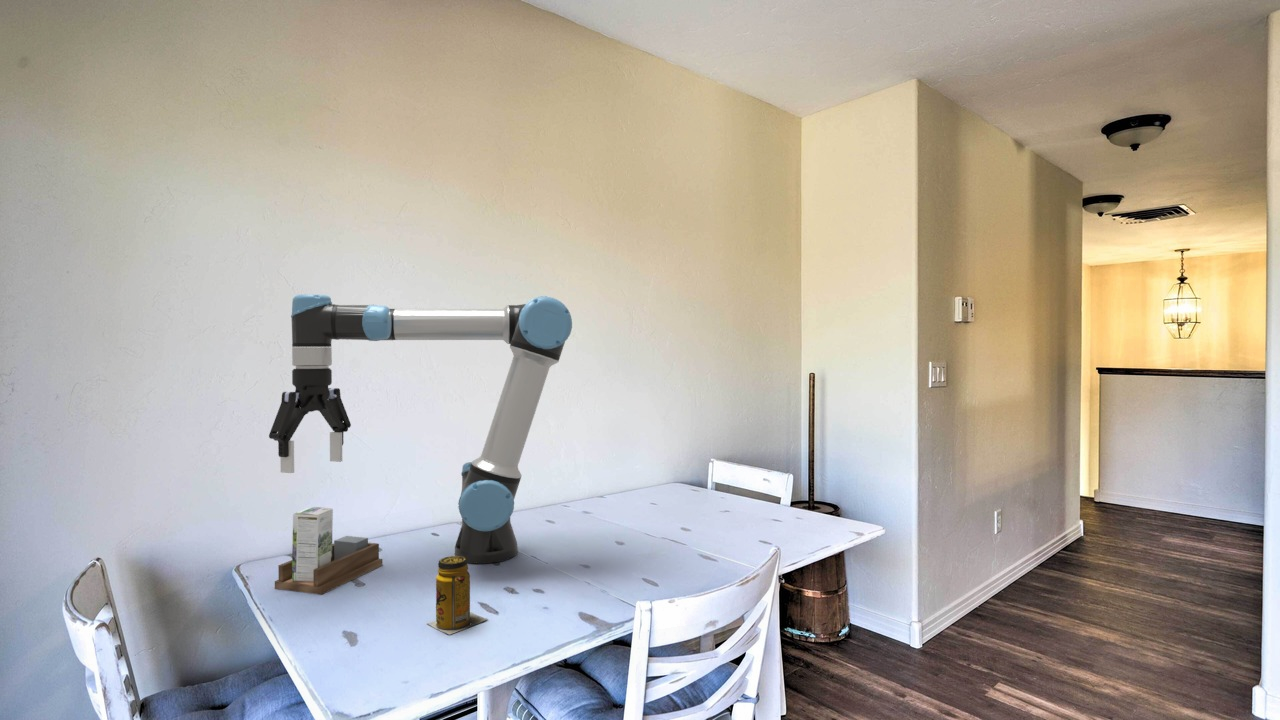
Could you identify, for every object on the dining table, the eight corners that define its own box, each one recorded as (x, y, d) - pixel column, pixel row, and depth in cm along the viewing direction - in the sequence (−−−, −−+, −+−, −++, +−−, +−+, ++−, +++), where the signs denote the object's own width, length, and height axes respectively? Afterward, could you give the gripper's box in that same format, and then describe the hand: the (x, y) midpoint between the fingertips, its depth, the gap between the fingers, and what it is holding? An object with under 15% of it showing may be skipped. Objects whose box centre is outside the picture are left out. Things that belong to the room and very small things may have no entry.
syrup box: (307, 572, 142) (307, 506, 142) (333, 573, 141) (333, 507, 141) (291, 581, 136) (291, 513, 136) (318, 582, 136) (318, 513, 135)
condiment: (426, 624, 120) (426, 559, 119) (465, 610, 126) (465, 549, 126) (449, 636, 115) (449, 568, 115) (488, 620, 121) (488, 557, 121)
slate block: (368, 559, 151) (368, 538, 151) (356, 564, 147) (356, 542, 147) (346, 556, 153) (346, 535, 153) (334, 562, 149) (334, 540, 149)
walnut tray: (382, 565, 151) (382, 544, 151) (321, 594, 133) (321, 570, 133) (339, 560, 155) (339, 539, 155) (274, 588, 137) (274, 564, 136)
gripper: (339, 365, 151) (340, 456, 151) (247, 369, 127) (248, 476, 127) (366, 366, 149) (367, 457, 149) (278, 369, 125) (279, 479, 125)
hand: (312, 466), depth 138 cm, fingers open, 13 cm apart
